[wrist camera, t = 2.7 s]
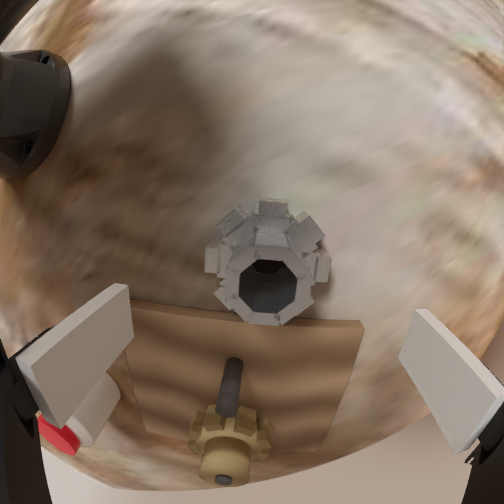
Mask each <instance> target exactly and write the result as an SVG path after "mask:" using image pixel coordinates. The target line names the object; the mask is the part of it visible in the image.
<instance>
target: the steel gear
mask: <svg viewBox="0 0 504 504" xmlns="http://www.w3.org/2000/svg"><path fill="white" fill-rule="evenodd" d="M286 209H287V203H286V202H285V200H277V199H265V198H261V199H260V205H259V210H258V209H256V211H255V213H254V215H253V214H252V212H251V211H250V212H249V213H248V214H247V213H246V211H245V210H244V209H243V208H242V207H241V206H240V205H239V206H238V207H237V208H236V209H235V210H233V211H232V212H231V213H230V214H229V215H228V216H226V217H225V218H224V219H223V220H222V221H221V222H220V223H219V224H217V225H216V227H217V228H218V229H219V230H220V232H221V233H222V234H223V235H224V236H223V237H222V238H221V239H213V240H212V241H211V242H210V243H209V244H208V245H207V247H206V248H205V272H207V273H217V277H218V278H221V279H220V280H219V282H218V284H217V286H216V288H215V290H214V293H213V294H214V295H215V296H216V297H217V298H218V299H219V300H220V301H221V302H222V303H223V304H224V305H225V306H226V307H227V308H228V309H229V310H231V309H233V310H234V311H235V312H236V313H237V314H238V315H239V316H240V317H241V318H242V319H243V320H244V321H245V322H247V321H248V320H249V323H248V324H259V325H272V326H279V323H280V324H281V325H283V324H284V323H286V322H287V321H289V320H290V319H291V318H293V317H294V316H297V315H298V314H300V313H301V312H302V311H304V310H305V309H307V308H308V307H309V306H311V305H312V304H313V303H315V300H314V297H313V294H312V292H311V285H312V286H315V282H325V283H327V282H328V276H329V270H330V264H331V258H330V256H329V255H328V254H327V253H326V251H325V250H324V249H323V248H317V245H316V243H317V242H318V241H319V240H321V239H322V238H323V237H324V236H325V234H324V233H323V232H322V231H321V229H320V228H319V227H318V225H317V224H316V223H315V222H314V220H313V219H312V218H311V217H310V215H308V214H307V213H306V212H305V211H302V212H301V213H300V214H299V215H297V216H296V217H295V218H294V216H293V215H291V216H289V214H288V213H287V212H286ZM257 259H266V260H278V261H283V262H284V263H285V264H286V265H285V266H284V267H282V268H281V269H280V270H278V271H277V272H276V273H275V274H268V273H258V272H257V271H256V270H255V269H254V268H253V267H252V266H251V264H252V263H254V262H255V261H256V260H257Z"/></svg>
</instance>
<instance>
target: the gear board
mask: <svg viewBox="0 0 504 504" xmlns="http://www.w3.org/2000/svg"><path fill="white" fill-rule="evenodd" d="M130 307H131V316H132V324H133V331H134V338H133V339H132V340H131V341H130V343H129V344H128V345H127V346H126V347H125V353H126V358H127V363H128V367H129V372H130V376H131V380H132V385H133V388H134V392H135V396H136V400H137V404H138V407H139V411H140V414H141V417H142V421H143V424H144V427H145V430H146V432H149V433H153V434H157V435H161V436H165V437H169V438H173V439H178V440H183V441H188V442H189V443H188V447H189V448H190V449H191V450H192V451H193V452H194V454H203V457H202V462H201V466H200V470H199V476H200V477H201V478H202V479H203V480H205V481H207V482H209V483H211V484H215V485H219V486H225V487H236V486H242V485H245V484H246V483H248V481H249V472H250V461H252V460H256V461H260V462H262V461H263V460H264V459H266V458H267V457H268V456H269V453H270V451H282V452H305V451H319V449H320V446H321V444H322V442H323V440H324V438H325V436H326V434H327V431H328V429H329V427H330V425H331V422H332V420H333V417H334V415H335V413H336V410H337V408H338V405H339V403H340V400H341V398H342V395H343V392H344V390H345V387H346V384H347V382H348V379H349V376H350V373H351V370H352V367H353V364H354V361H355V358H356V355H357V352H358V349H359V346H360V342H361V339H362V336H363V332H364V327H363V326H362V324H361V322H360V321H350V320H323V319H303V318H291V319H290V320H289V321H287V322H286V323H284V324H283V325H281V324H280V323H279V326H272V325H259V324H248V323H249V320H248V321H247V322H245V321H244V320H243V319H242V318H241V317H240V316H239V315H238V314H237V313H229V312H220V311H211V310H203V309H195V308H187V307H179V306H172V305H165V304H158V303H152V302H145V301H139V300H133V299H130Z"/></svg>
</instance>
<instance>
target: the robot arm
mask: <svg viewBox="0 0 504 504" xmlns="http://www.w3.org/2000/svg"><path fill="white" fill-rule="evenodd" d="M38 1H39V0H0V45H1V44H2V43H3V41H4V40H5V39H6V37H7V36H8V35H9V34H10V32H11V31H12V30H13V29H14V27H15V26H16V25H17V24H18V23H19V21H20V20H21V19H22V18H23V17H24V16H25V14H26V13H27V12H28V11H29V10H30V9H31V8H32V7H33V6H34V5H35V4H36V3H37V2H38ZM69 92H70V74H69V69H68V66H67V64H66V62H65V61H64V59H63V58H62V57H60V56H58V55H56V54H54V53H52V52H49V51H47V50H24V51H12V52H0V178H2V179H11V178H21V177H24V176H26V175H28V174H30V173H31V172H32V171H34V170H35V169H36V168H37V167H38V166H39V165H40V163H41V162H42V161H43V160H44V158H45V157H46V155H47V154H48V152H49V151H50V149H51V147H52V145H53V143H54V141H55V139H56V137H57V135H58V133H59V130H60V128H61V125H62V122H63V119H64V116H65V112H66V109H67V104H68V99H69ZM133 338H134V331H133V324H132V316H131V307H130V297H129V286H128V285H125V284H119V283H114V284H112V285H111V286H109V287H108V288H107V289H105V290H104V291H102V292H101V293H99V294H98V295H97V296H95V297H94V298H92V299H91V300H90V301H88V302H87V303H86V304H84V305H83V306H81V307H80V308H79V309H77V310H76V311H75V312H73V313H72V314H71V315H69V316H68V317H67V318H65V319H64V320H63V321H61V322H60V323H59V324H57V325H55V326H53V327H51V328H48V329H46V330H45V331H43V332H42V333H41V334H40V335H38V337H36V338H34V339H33V340H32V342H29V343H28V344H27V345H25V346H24V347H23V348H22V349H20V350H19V351H18V352H17V353H15V354H14V355H13V356H12V357H11V358H9V359H8V357H7V355H6V352H5V350H4V347H3V344H2V341H1V339H0V504H52V500H51V496H50V493H49V489H48V484H47V480H46V475H45V471H44V465H43V459H42V453H41V445H40V437H39V427H38V420H37V417H36V415H35V414H36V413H37V411H38V410H40V412H41V414H42V415H43V417H44V419H45V421H47V422H48V423H50V424H52V425H54V426H56V427H57V428H59V429H62V428H63V426H64V425H65V424H66V422H67V421H68V420H69V418H70V417H71V416H72V414H73V413H74V412H75V410H76V409H77V408H78V407H79V405H80V404H81V403H82V401H83V400H84V399H85V397H86V396H87V395H88V394H89V392H90V391H91V390H92V389H93V387H94V386H95V385H96V383H97V382H98V381H99V380H100V378H101V377H102V376H103V375H104V373H105V372H106V371H107V370H108V368H109V367H110V366H111V365H112V363H113V362H114V361H115V360H116V358H117V357H118V356H119V355H120V354H121V352H122V351H123V350H124V349H125V347H126V346H127V345H128V344H129V343H130V341H131V340H132V339H133ZM398 359H399V360H400V362H401V364H402V365H403V367H404V368H405V370H406V371H407V373H408V375H409V376H410V378H411V379H412V381H413V383H414V384H415V386H416V388H417V389H418V391H419V392H420V394H421V396H422V397H423V399H424V401H425V403H426V404H427V406H428V408H429V409H430V411H431V413H432V414H433V416H434V418H435V420H436V421H437V423H438V425H439V427H440V429H441V430H442V432H443V434H444V436H445V438H446V440H447V442H448V443H449V445H450V447H451V449H452V451H453V453H454V454H458V453H460V452H463V451H465V450H467V449H469V448H470V447H471V445H472V444H473V443H474V442H475V440H476V439H477V438H478V439H479V441H480V444H479V445H478V446H477V447H476V448H475V450H474V451H473V452H472V453H471V454H470V455H469V456H468V458H467V459H466V460H465V463H467V462H468V461H469V460H470V459H471V458H472V457H474V459H473V460H472V461H471V463H470V464H471V465H472V468H471V473H470V477H469V480H468V485H467V487H466V491H465V494H464V497H463V500H462V503H461V504H504V385H503V384H502V383H501V382H500V381H499V380H498V378H497V377H495V376H494V374H493V373H492V372H491V371H489V369H488V368H487V367H486V366H485V364H484V363H483V362H481V361H480V360H479V359H478V358H477V357H476V356H475V355H474V354H473V353H472V352H471V351H470V350H469V349H468V348H467V347H466V346H465V345H464V344H463V343H462V342H461V341H460V340H459V339H458V338H457V337H456V336H455V335H454V334H453V333H452V332H451V331H450V330H449V329H447V328H446V327H445V326H444V325H443V324H442V323H441V322H440V321H439V320H438V319H437V318H436V317H435V316H434V315H433V314H431V313H430V312H429V311H428V310H427V309H414V312H413V316H412V319H411V322H410V325H409V328H408V331H407V334H406V337H405V340H404V343H403V346H402V348H401V351H400V354H399V356H398Z"/></svg>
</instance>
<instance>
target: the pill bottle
mask: <svg viewBox="0 0 504 504" xmlns="http://www.w3.org/2000/svg"><path fill="white" fill-rule="evenodd" d="M120 397H121V394H120V390H119V388H118V386H117V384H116V382H115V381H114V380H113V378H112V377H111V376H110V375H109V374H108V373H107V372H105V373H104V375H103V376H102V377H101V378H100V380H99V381H98V382H97V383H96V385H95V386H94V387H93V389H92V390H91V391H90V392H89V394H88V395H87V396H86V397H85V399H84V400H83V401H82V403H81V404H80V405H79V407H78V408H77V409H76V410H75V412H74V413H73V414H72V416H71V417H70V418H69V420H68V421H67V422H66V424H65V425H64V426H63V428H62V429H59V428H57V427H56V426H54V425H52V424H50V423H48V422H47V421H45V419H44V417H43V415H42V414H41V412H40V414H41V415H40V416H39V417H38V418H37V420H38V427H39V432H40V433H41V434H42V436H43V437H44V438H45V439H46V440H47V441H49V442H50V443H51V444H52V445H53V446H55V447H56V448H57V449H59V450H60V451H62V452H64V453H66V454H69V455H75V454H76V452H77V451H78V449H79V447H91V446H92V445H93V444H94V442H95V441H96V439H97V437H98V436H99V434H100V432H101V430H102V429H103V427H104V425H105V424H106V422H107V420H108V419H109V417H110V415H111V414H112V412H113V411H114V409H115V407H116V406H117V404H118V402H119V400H120Z"/></svg>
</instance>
